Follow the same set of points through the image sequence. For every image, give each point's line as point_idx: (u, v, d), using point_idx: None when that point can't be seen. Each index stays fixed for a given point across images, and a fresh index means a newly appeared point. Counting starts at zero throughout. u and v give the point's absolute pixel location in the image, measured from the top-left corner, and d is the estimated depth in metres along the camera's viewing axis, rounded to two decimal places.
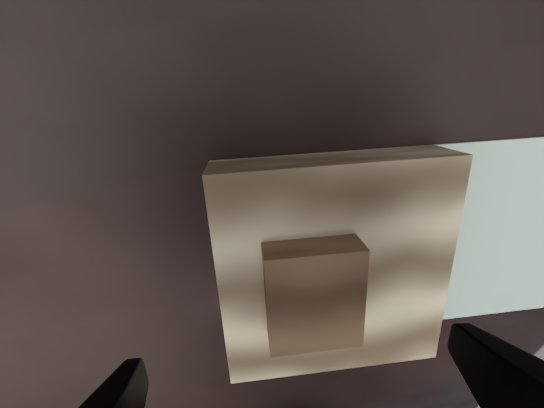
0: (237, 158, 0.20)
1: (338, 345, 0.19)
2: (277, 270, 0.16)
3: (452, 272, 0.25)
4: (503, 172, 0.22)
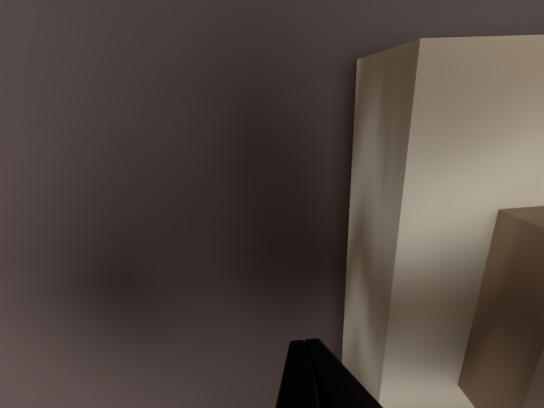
0: None
1: None
2: None
3: None
4: None
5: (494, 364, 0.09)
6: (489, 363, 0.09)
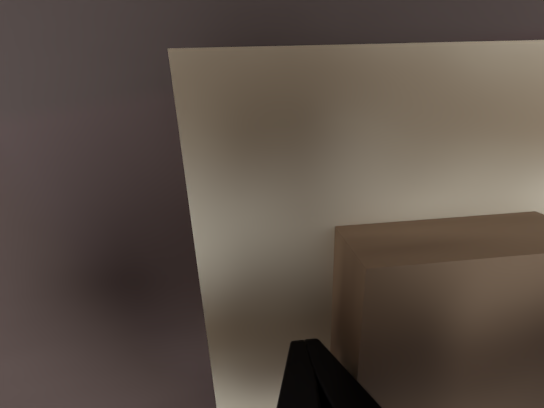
0: None
1: None
2: (396, 293, 0.06)
3: None
4: None
5: None
6: None
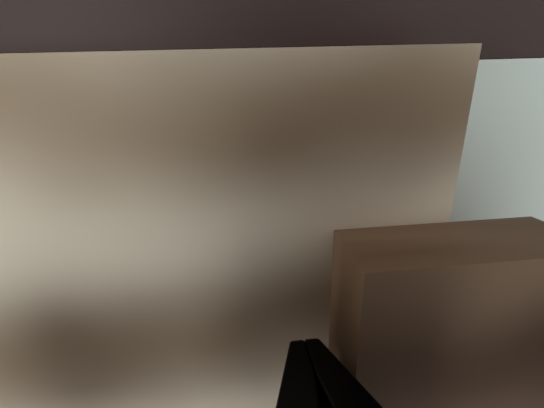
0: None
1: None
2: (395, 297, 0.07)
3: None
4: (534, 125, 0.12)
5: None
6: None
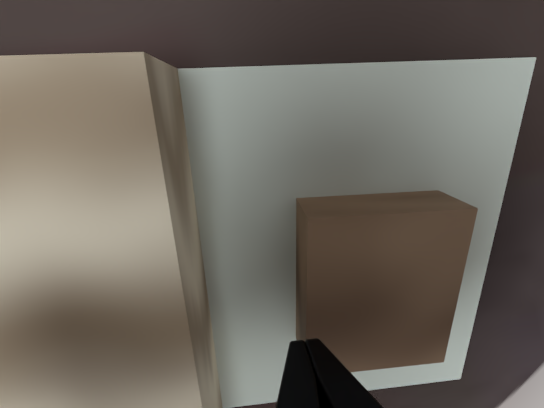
0: None
1: None
2: None
3: (280, 323, 0.14)
4: (342, 134, 0.11)
5: None
6: None
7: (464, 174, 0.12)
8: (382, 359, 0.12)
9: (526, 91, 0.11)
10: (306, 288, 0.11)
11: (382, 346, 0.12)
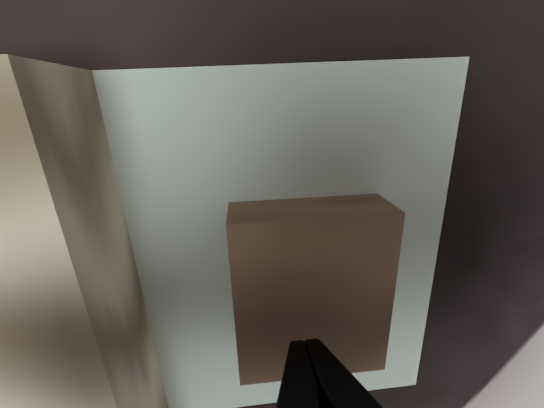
0: None
1: None
2: None
3: (223, 329, 0.14)
4: (272, 137, 0.11)
5: None
6: None
7: (403, 177, 0.12)
8: None
9: (461, 91, 0.11)
10: (232, 295, 0.10)
11: None
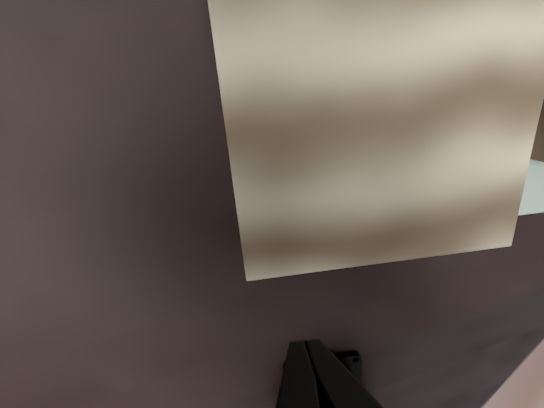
0: None
1: None
2: None
3: None
4: None
5: None
6: None
7: None
8: None
9: None
10: None
11: None
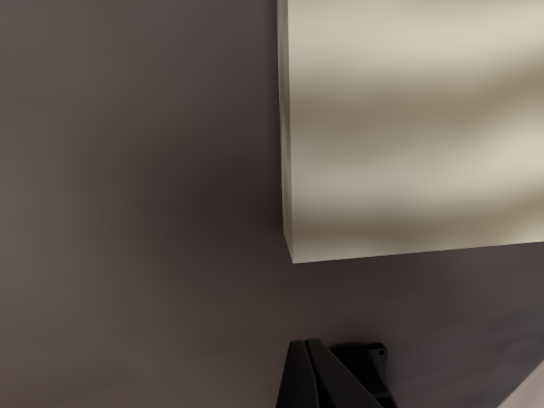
0: None
1: None
2: None
3: None
4: None
5: None
6: None
7: None
8: None
9: None
10: None
11: None
